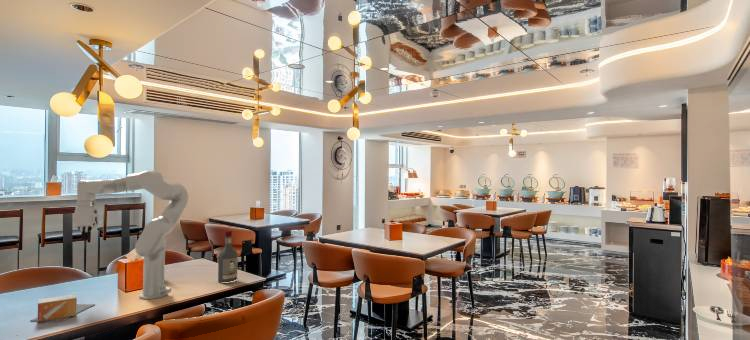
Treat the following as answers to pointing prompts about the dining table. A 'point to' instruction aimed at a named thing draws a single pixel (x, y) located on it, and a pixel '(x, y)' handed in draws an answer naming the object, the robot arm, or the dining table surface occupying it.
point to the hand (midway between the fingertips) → (85, 239)
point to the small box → (57, 307)
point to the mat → (78, 309)
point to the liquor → (227, 261)
